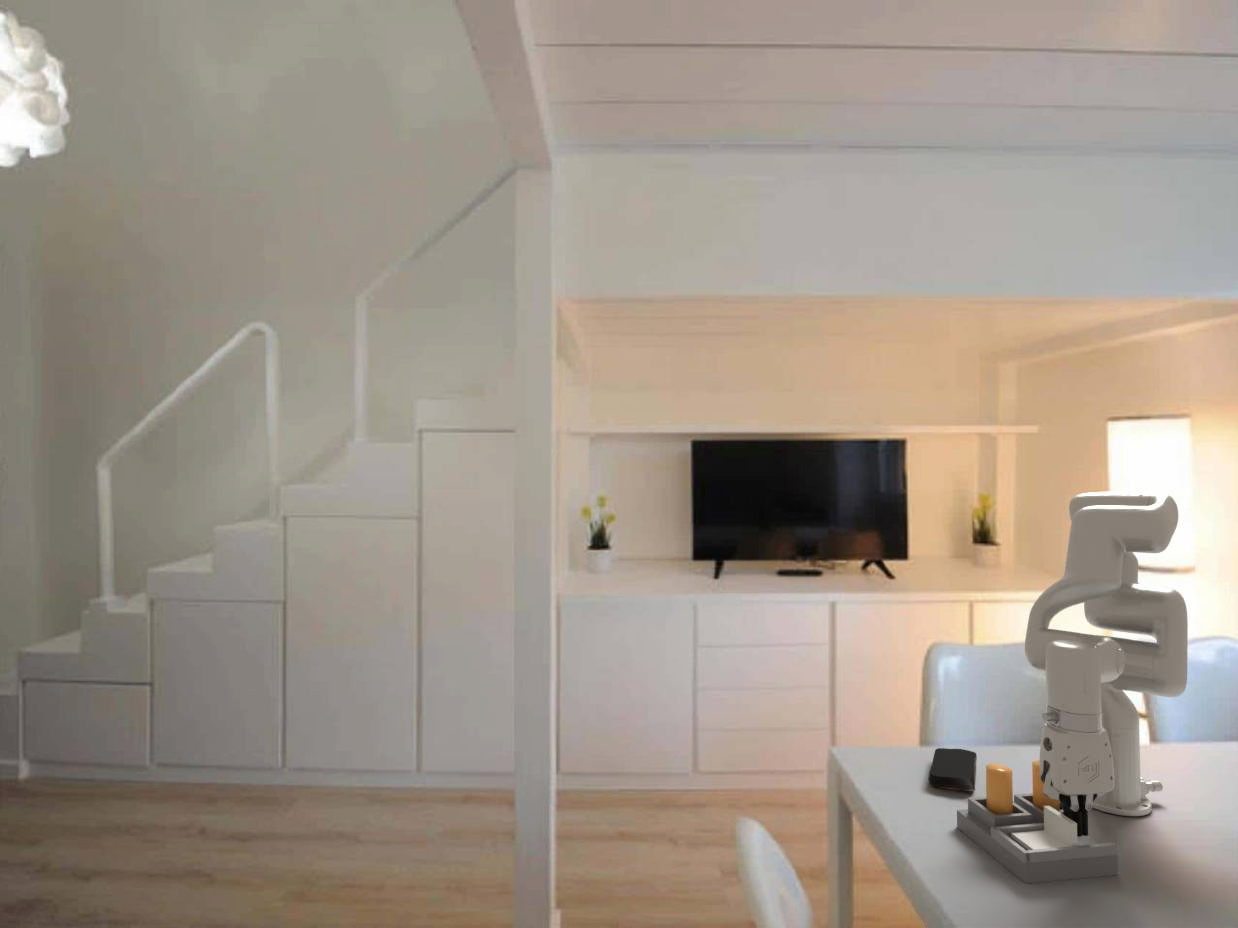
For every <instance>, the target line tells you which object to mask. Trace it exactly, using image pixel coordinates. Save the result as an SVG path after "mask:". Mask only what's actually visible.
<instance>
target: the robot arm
mask: <svg viewBox="0 0 1238 928" xmlns="http://www.w3.org/2000/svg"><path fill="white" fill-rule="evenodd" d="M1068 511H1069V518H1070V521H1071V524H1070V530H1069V536H1068V537H1069V539H1068V545H1067V552H1066V559H1065V560H1066V561H1065V567H1064V574H1063V576H1062V577H1061V578H1060V579H1059V580H1057V581H1056V582H1054V583H1053V584H1052V585H1050V586H1048V587H1047V588H1046V589H1045V590H1044V591H1043V592H1042V593H1041V594H1040V595H1039V597H1038V598H1037V599H1036V601H1034V602H1033V605H1032V607H1031V609H1030V611H1029V615H1028V621H1027V626H1026V627H1027V628H1026V634H1025V640H1024V654H1025V655H1024V656H1025V658H1026V660H1027V663H1028V664H1029V665H1030V666H1031V667H1033V668H1034V669H1036V670H1038V671H1042V672H1045V693H1046V695H1045V697H1046V705H1045V706H1046V708H1045V709H1046V711H1045V712H1042V714H1041V717H1042V720H1043V721H1044V722H1046V723H1044V724H1043V728H1042V732H1041V736H1040V737H1041V738H1040V746H1039V760H1038V761H1039V769H1040V779H1041V781H1042V783H1044V788H1043V794H1044V795H1046V796H1047V797H1049V798H1052V799H1057V800H1059V802H1060V803H1061V804H1063V813H1064V815H1065V816H1066V817H1068V818H1069V819H1071V820H1072V821H1074V822H1076V823H1077V836H1082V835H1083V836H1088V837H1089V811H1091V810H1092V809H1095V810H1097V811H1101V812H1105V813H1106V814H1107V813H1109V814H1112V815H1118V816H1125V817H1141V816H1142V817H1143V816H1146V815H1149V814H1150V813H1151V812H1152V810H1153V809H1152V806H1153V805H1152V802H1151V801H1150V800H1149V798H1148V797H1146V795H1148V794H1149V793H1150V792H1151V793H1152V792H1153V793H1154V792H1162V791H1163V789H1164V788H1163V787H1164V786H1163V784H1162V783H1161V781H1159V780H1158V779H1157V780H1147V781H1145V780H1144V778H1143V777H1142V776H1141V747H1140V746H1141V745H1140V743H1141V741H1140V738H1141V737H1140V736H1141V735H1140V716H1139V715H1140V714H1139V712H1138V709H1137V707H1136V706H1135V704H1134V702H1133V701H1132V700H1131V698H1129V696H1128V695H1127V694H1126V692H1125V691H1127V692H1129V691H1130V692H1135V693H1140V694H1146V695H1152V696H1157V697H1165V698H1176V697H1180V696H1182V695H1183V694H1184V692H1185V691H1186V688H1187V684H1188V638H1189V637H1188V621H1189V620H1188V611H1187V605H1186V602H1185V599H1184V597H1183V595H1182V594H1181V593H1180V592H1179V591H1178V590H1176V589H1173V588H1171V587H1168V586H1167V587H1166V586H1162V585H1161V586H1159V585H1150V584H1149V585H1148V584H1140V583H1139V560H1138V558H1137V557H1136V555H1135V554H1134V553H1141V554H1142V553H1144V554H1160V553H1162V552H1164V551H1165V550H1166V549H1167V548H1168V547H1169V545H1170V542H1171V540H1172V538H1173V535H1174V533H1175V531H1176V529H1177V527H1178V522H1179V509H1178V505H1177V502H1176V501H1175V499H1174V498H1173V497H1172V496H1170V495H1169V494H1167V493H1163V492H1123V491H1122V492H1118V491H1098V492H1097V491H1096V492H1085V493H1081V494H1077V495H1075V496H1073V497H1072V499H1071V500H1070V502H1069V507H1068ZM1080 604H1083V609H1084V616H1085V619H1086V622H1088V624H1090V625H1091V626H1092V627H1095V628H1098V629H1103V630H1105V631H1106V630H1108V631H1113V632H1118V633H1119V632H1120V633H1128V634H1137V635H1142V636H1143V635H1144V636H1149V637H1152V638H1154V639H1155V640H1156V642H1153V641H1144V640H1136V639H1129V638H1125V637H1124V638H1123V637H1117V636H1115V637H1114V636H1110V635H1109V636H1108V635H1099V634H1096V635H1095V634H1090V633H1082V632H1075V631H1069V630H1068V631H1067V630H1062V629H1053V628H1049V626H1050V623H1051V622H1052V620H1053V618H1054V617H1055V616H1056V615H1058V614H1059V613H1060V612H1062V611H1064V610H1066V609H1068V608H1070V607H1073V606H1076V605H1080Z"/></svg>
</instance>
